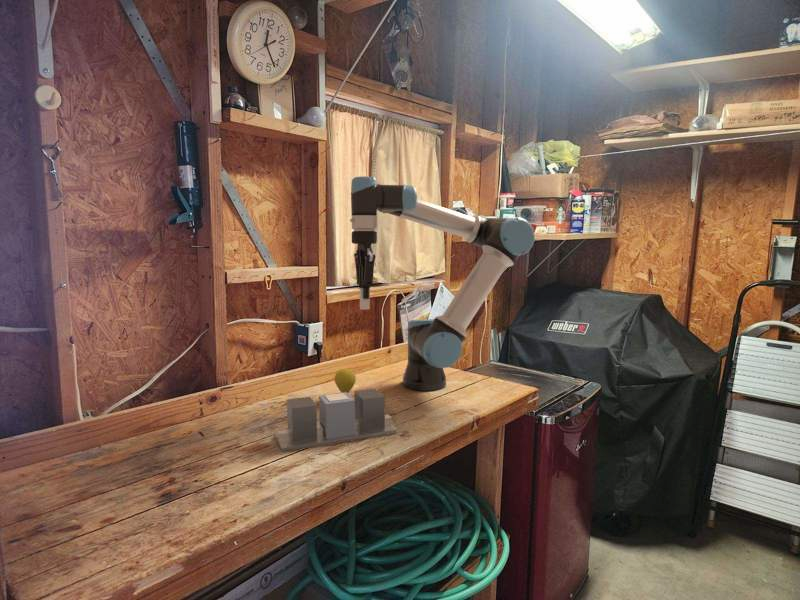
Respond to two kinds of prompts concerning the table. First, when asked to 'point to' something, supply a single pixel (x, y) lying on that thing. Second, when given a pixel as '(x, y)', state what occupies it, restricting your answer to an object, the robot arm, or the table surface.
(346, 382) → the light bulb
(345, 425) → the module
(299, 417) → the grey block holder
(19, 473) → the table surface
